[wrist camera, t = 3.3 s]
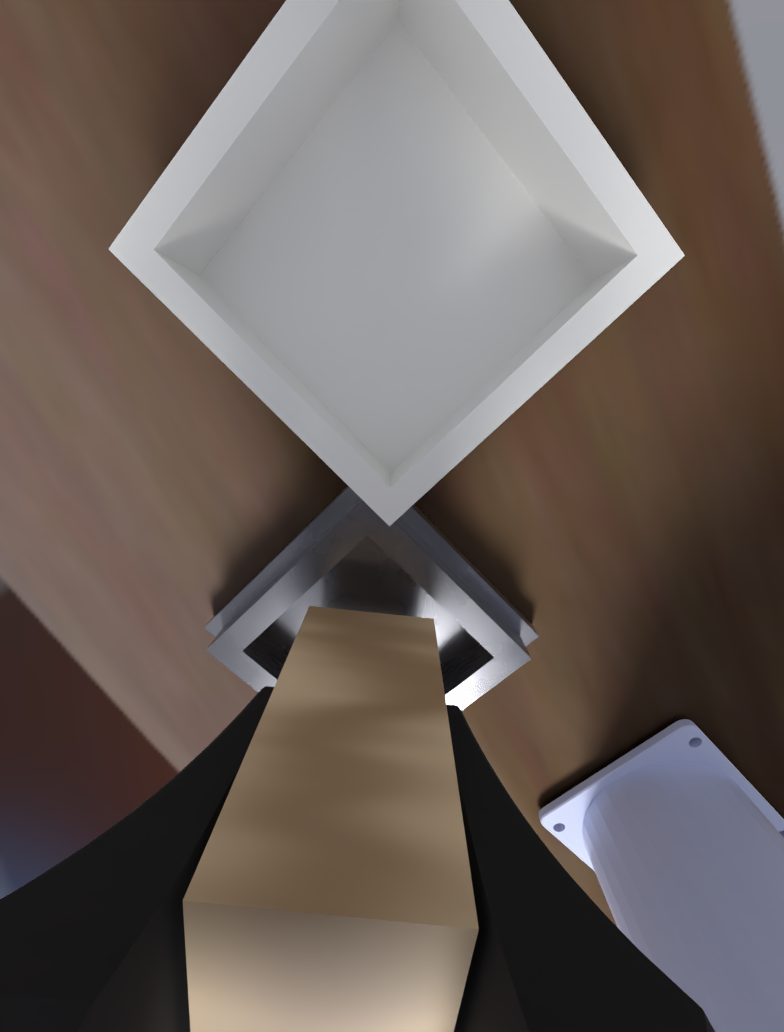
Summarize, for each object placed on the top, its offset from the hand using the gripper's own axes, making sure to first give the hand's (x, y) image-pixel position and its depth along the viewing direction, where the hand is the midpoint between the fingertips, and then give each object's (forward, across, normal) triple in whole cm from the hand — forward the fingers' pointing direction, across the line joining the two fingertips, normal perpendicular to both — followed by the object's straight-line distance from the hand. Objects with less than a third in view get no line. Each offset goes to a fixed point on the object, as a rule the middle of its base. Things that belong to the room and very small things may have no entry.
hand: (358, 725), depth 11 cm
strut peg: (+3, 0, 0) cm, 3 cm away
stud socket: (+5, 0, 0) cm, 5 cm away
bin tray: (+5, 0, -12) cm, 13 cm away
